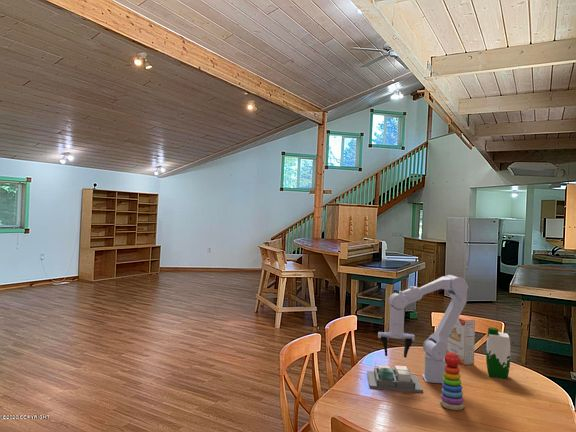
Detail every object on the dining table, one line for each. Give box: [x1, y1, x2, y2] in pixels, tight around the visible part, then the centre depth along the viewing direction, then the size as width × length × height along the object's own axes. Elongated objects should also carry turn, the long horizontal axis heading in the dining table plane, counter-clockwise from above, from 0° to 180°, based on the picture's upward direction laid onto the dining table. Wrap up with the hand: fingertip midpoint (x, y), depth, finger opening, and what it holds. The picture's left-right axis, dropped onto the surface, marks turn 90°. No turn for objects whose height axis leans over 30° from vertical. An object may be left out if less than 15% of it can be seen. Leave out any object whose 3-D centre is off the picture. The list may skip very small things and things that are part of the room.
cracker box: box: [446, 314, 476, 366], centre depth 198 cm, size 14×6×21 cm, turn 14°
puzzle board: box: [366, 364, 424, 394], centre depth 167 cm, size 20×16×6 cm
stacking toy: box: [439, 352, 465, 411], centre depth 147 cm, size 8×8×19 cm
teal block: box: [380, 367, 393, 381], centre depth 164 cm, size 4×4×5 cm
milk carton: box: [485, 327, 511, 381], centre depth 179 cm, size 9×9×20 cm
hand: (395, 356), depth 171 cm, fingers open, 7 cm apart
